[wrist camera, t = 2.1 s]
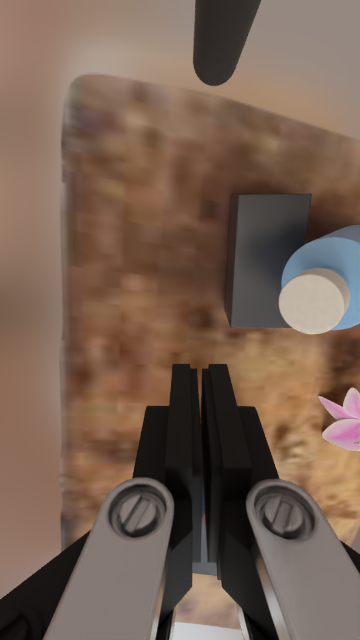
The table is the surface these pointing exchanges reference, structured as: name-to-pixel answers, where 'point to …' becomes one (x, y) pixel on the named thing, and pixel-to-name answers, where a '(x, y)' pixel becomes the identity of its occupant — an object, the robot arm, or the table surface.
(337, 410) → the lily
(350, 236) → the bottle
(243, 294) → the block
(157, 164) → the table surface
